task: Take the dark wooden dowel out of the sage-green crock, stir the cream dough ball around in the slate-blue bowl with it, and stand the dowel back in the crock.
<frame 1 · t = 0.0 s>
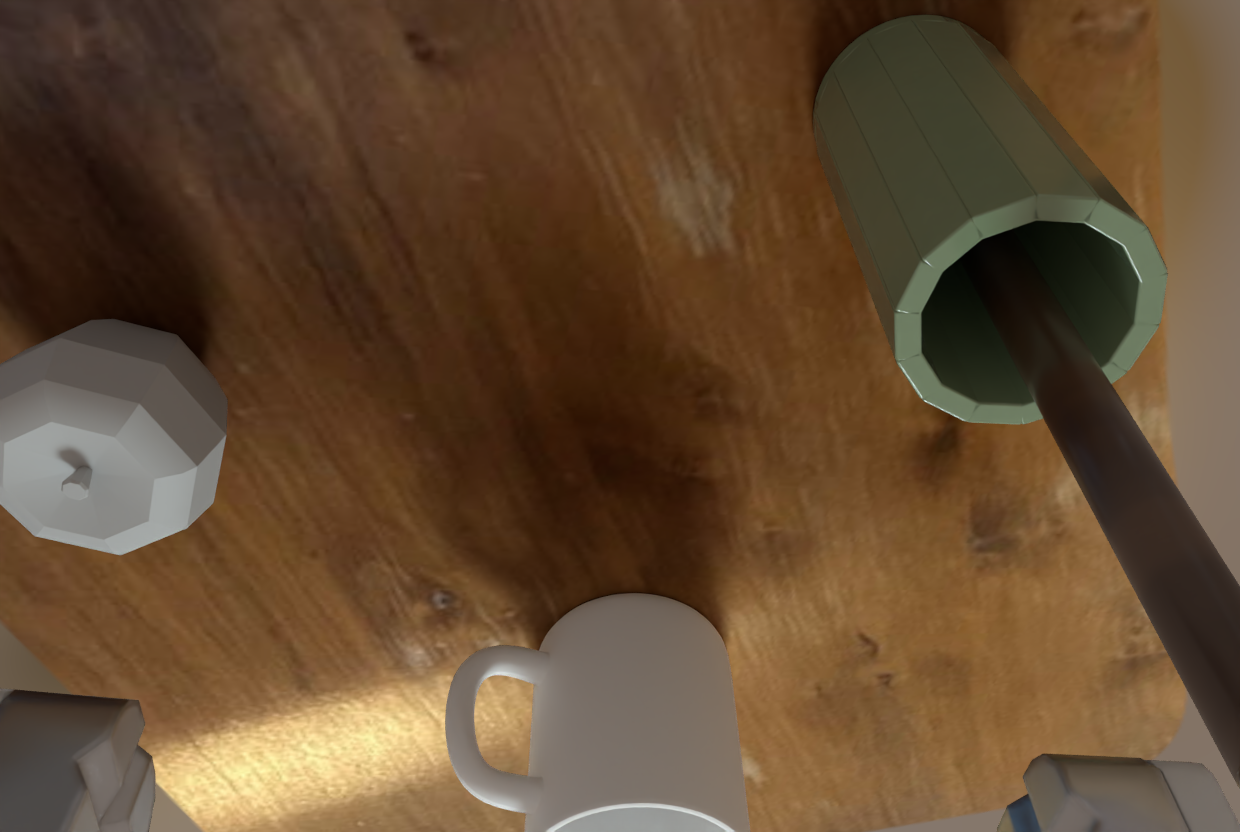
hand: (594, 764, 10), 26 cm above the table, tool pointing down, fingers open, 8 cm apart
crock: (908, 110, 34), on the table
grey faceted low-poly ball: (146, 366, 40), on the table
cup: (593, 639, 48), on the table
dark wooden dowel: (912, 118, 34), point 1 cm above the table, touching crock
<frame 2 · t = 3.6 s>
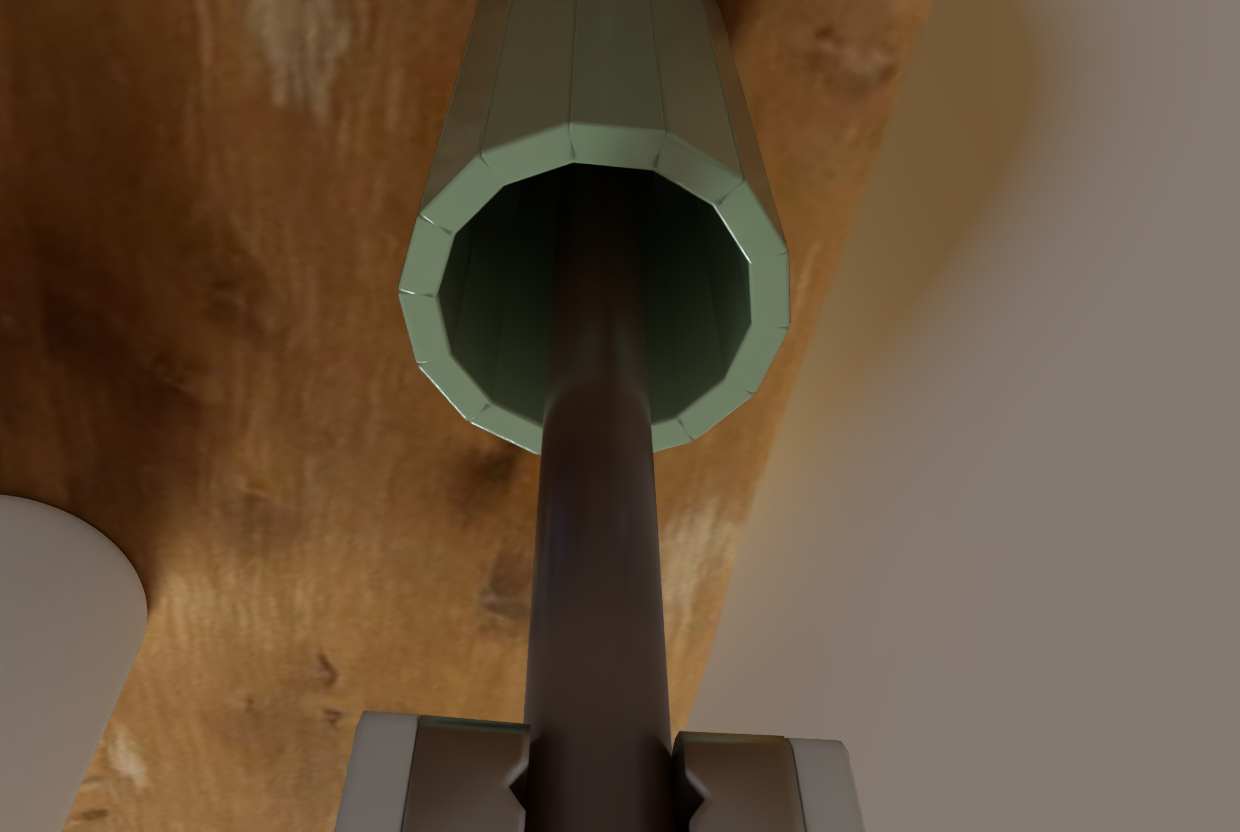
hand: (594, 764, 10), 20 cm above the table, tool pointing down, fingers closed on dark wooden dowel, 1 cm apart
crock: (597, 45, 27), on the table
dark wooden dowel: (597, 54, 26), point 1 cm above the table, touching crock, gripper
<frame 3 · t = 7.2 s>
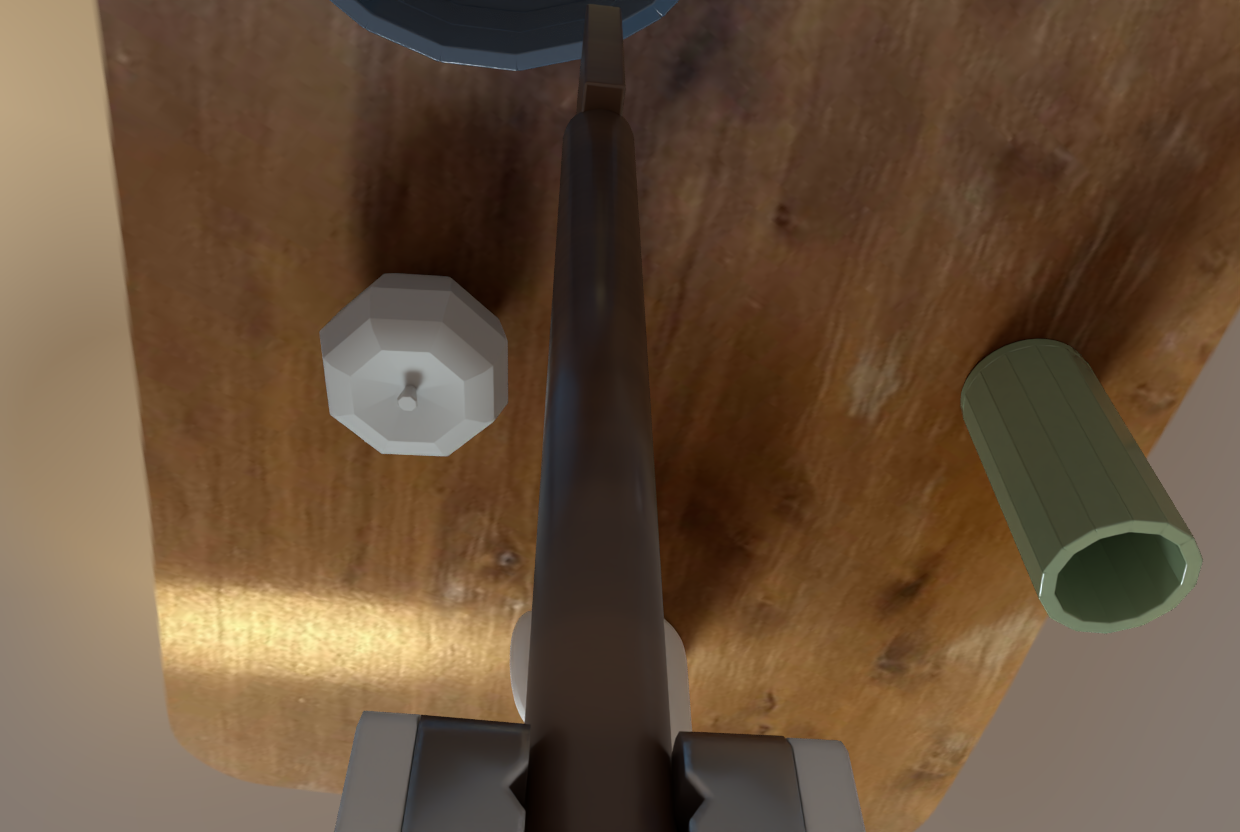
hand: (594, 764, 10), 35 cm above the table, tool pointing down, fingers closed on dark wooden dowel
crock: (1024, 391, 51), on the table
grey faceted low-poly ball: (429, 311, 49), on the table
cup: (590, 628, 61), on the table
dark wooden dowel: (598, 57, 26), point 16 cm above the table, touching gripper
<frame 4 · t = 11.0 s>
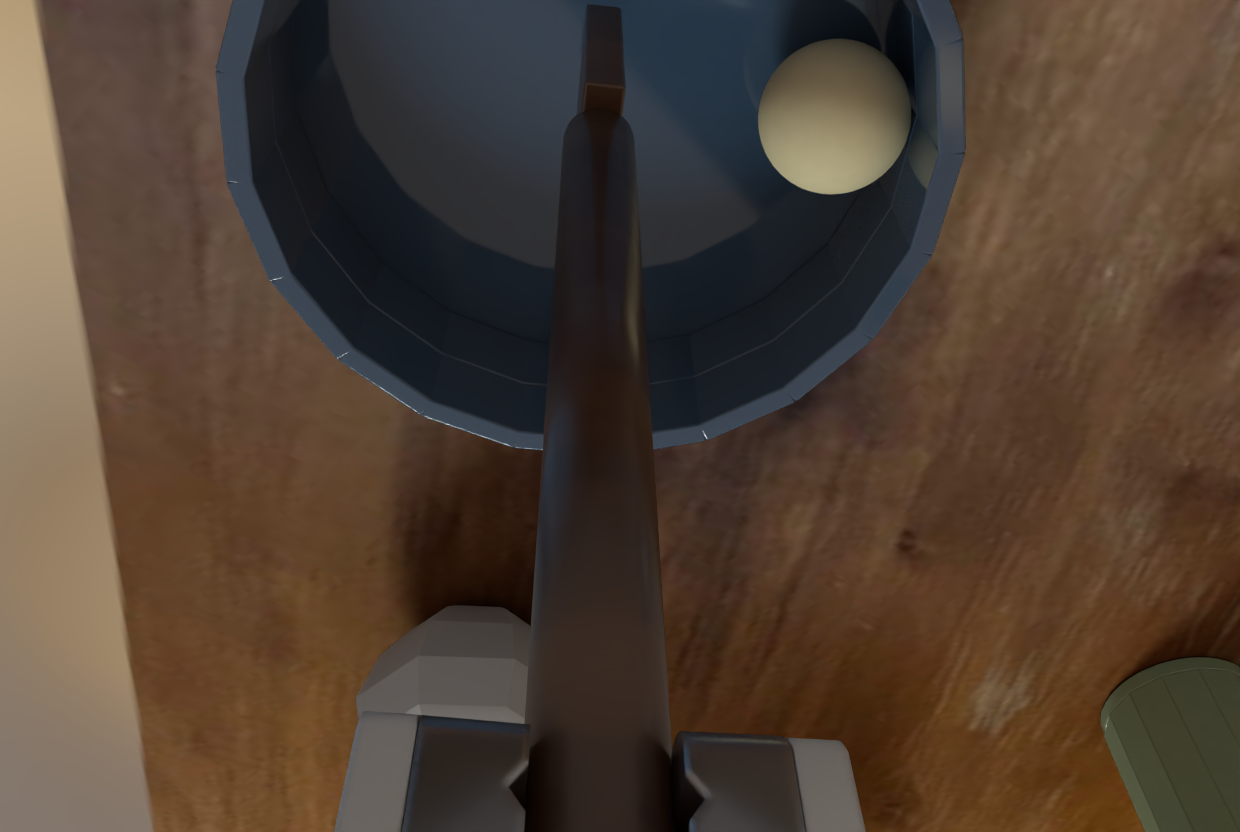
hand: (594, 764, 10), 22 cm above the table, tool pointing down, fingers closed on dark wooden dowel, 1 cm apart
bowl: (595, 86, 29), on the table
dough ball: (833, 117, 27), point 2 cm above the table, tilted 58°, touching bowl
crock: (1176, 706, 44), on the table
grey faceted low-poly ball: (481, 634, 41), on the table
dark wooden dowel: (598, 57, 26), point 2 cm above the table, touching gripper
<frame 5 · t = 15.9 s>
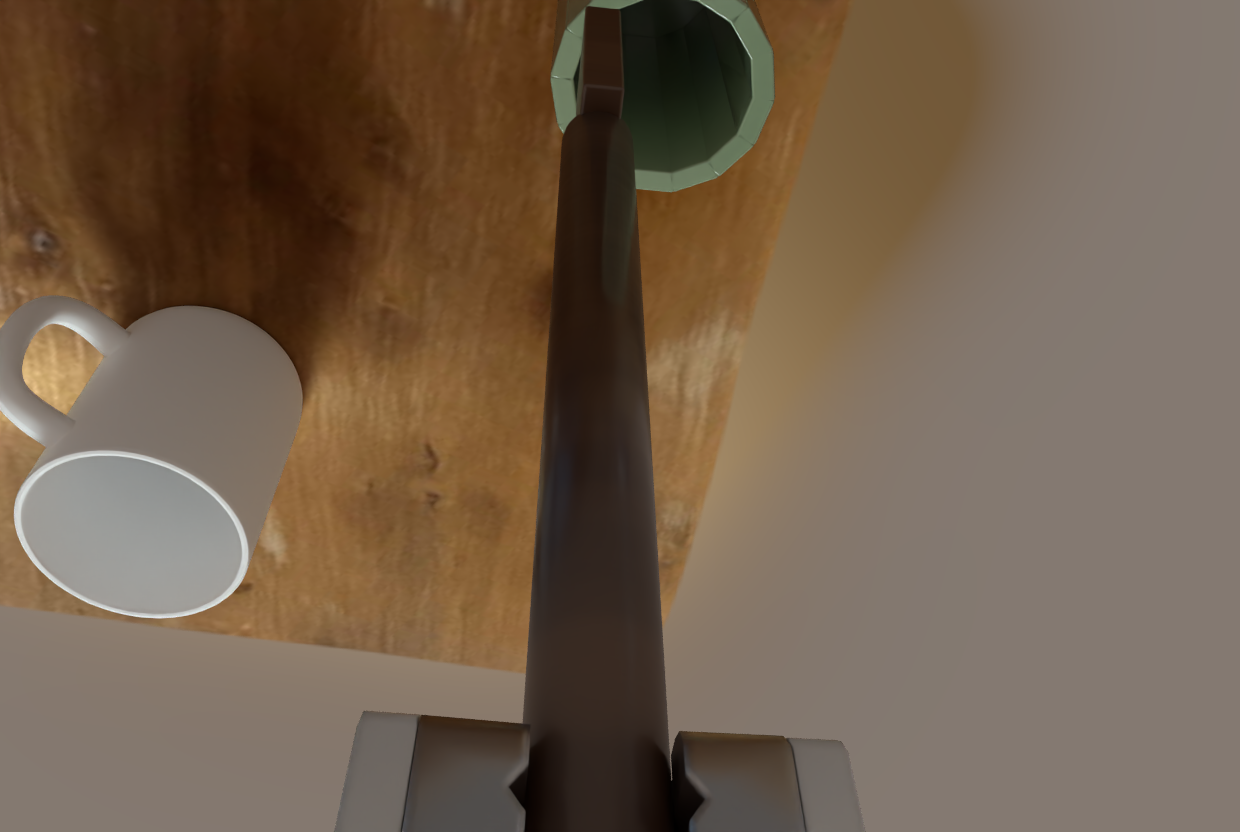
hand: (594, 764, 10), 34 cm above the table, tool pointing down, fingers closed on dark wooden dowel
cup: (179, 349, 49), on the table
dark wooden dowel: (597, 59, 26), point 15 cm above the table, touching gripper
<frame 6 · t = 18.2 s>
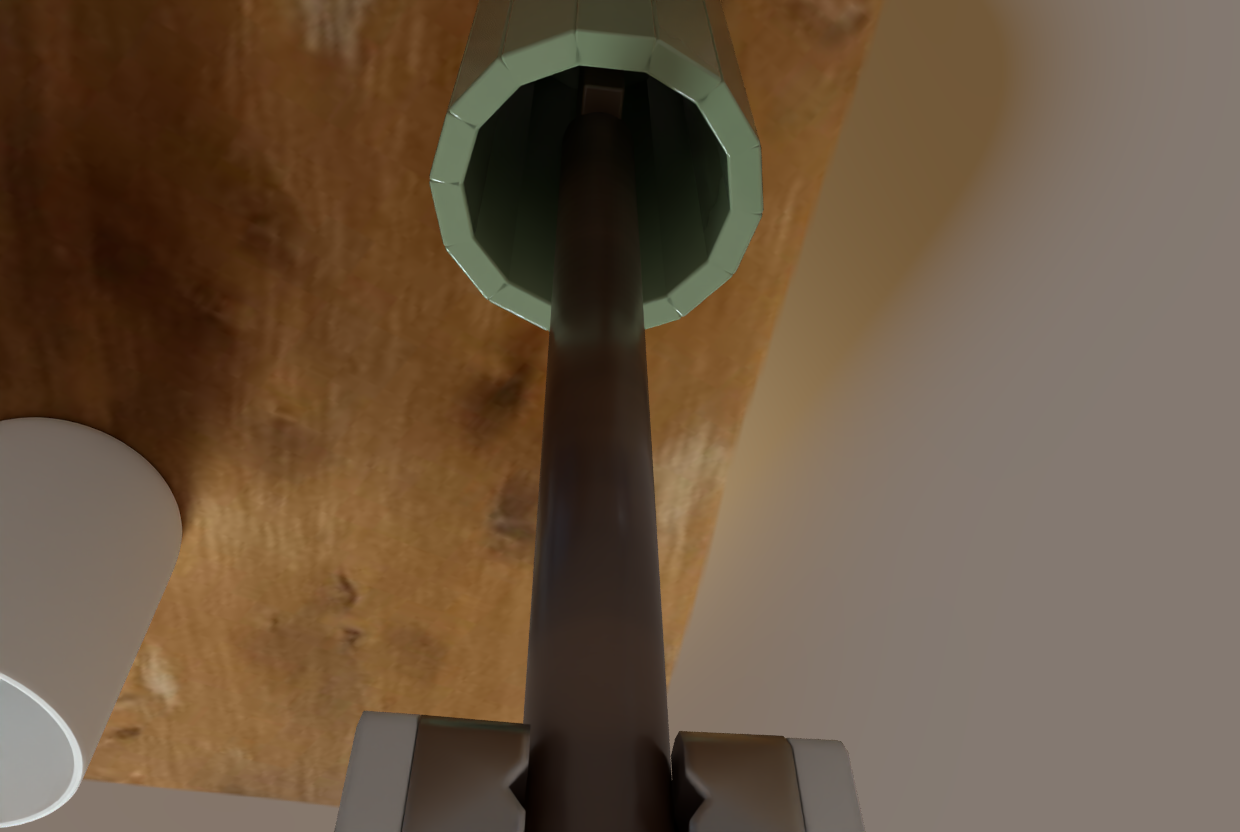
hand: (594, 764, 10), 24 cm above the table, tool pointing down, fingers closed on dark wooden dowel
cup: (25, 467, 39), on the table
dark wooden dowel: (598, 59, 26), point 4 cm above the table, touching gripper
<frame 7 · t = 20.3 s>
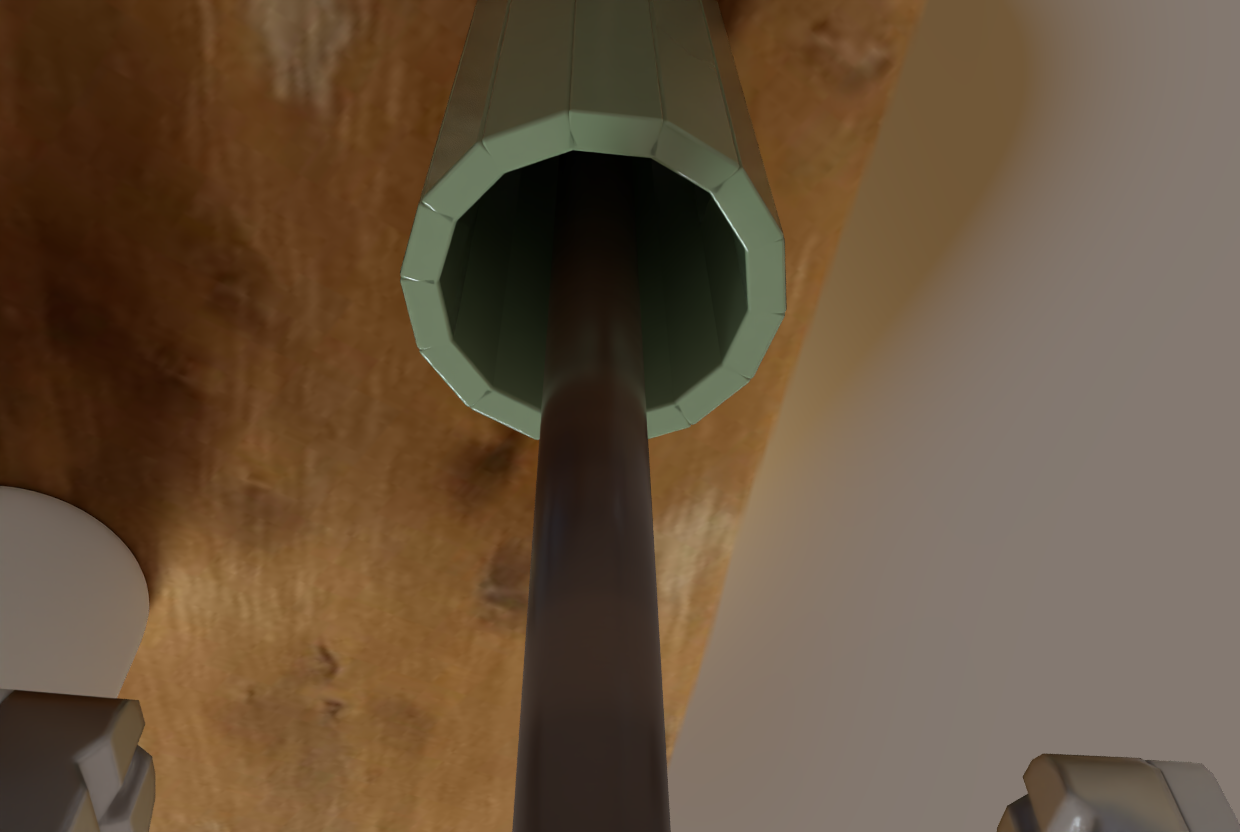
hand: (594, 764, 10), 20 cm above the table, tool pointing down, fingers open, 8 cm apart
crock: (596, 39, 27), on the table
dark wooden dowel: (595, 54, 26), point 1 cm above the table, touching crock
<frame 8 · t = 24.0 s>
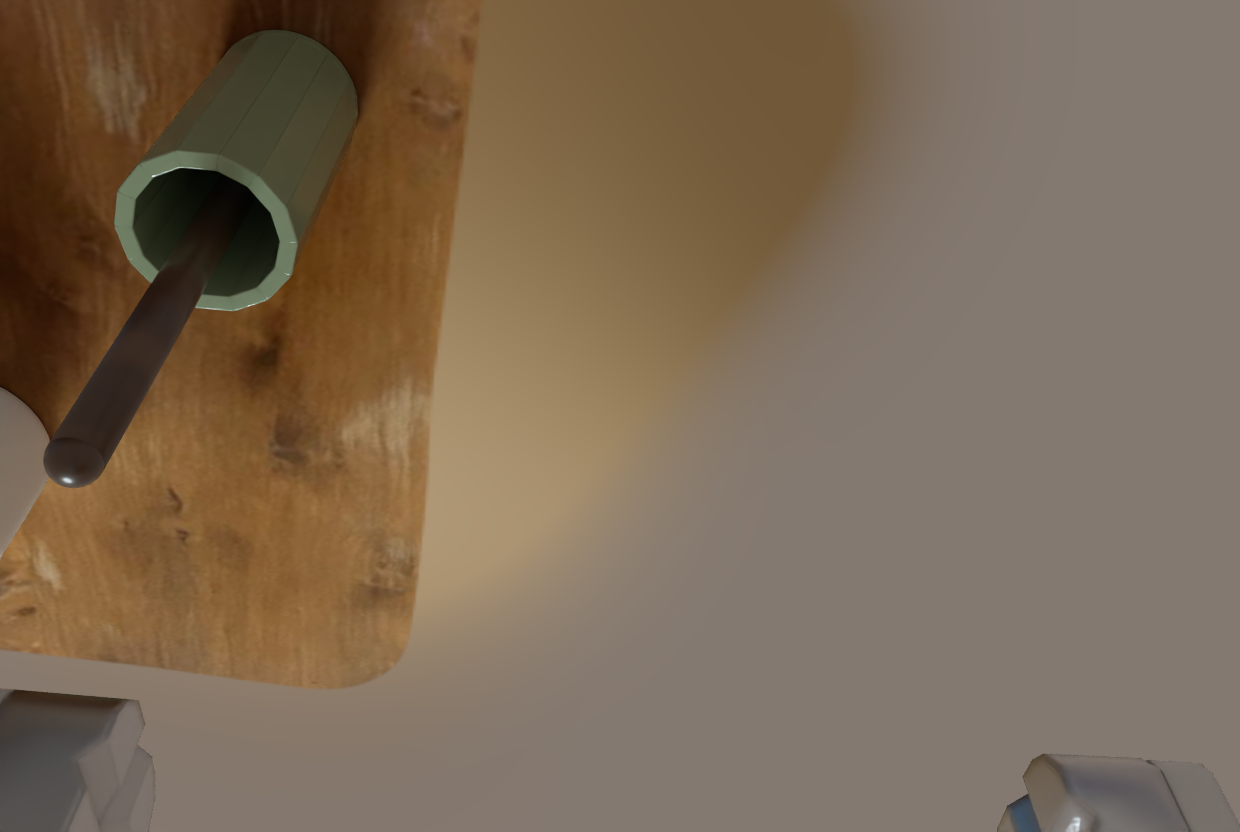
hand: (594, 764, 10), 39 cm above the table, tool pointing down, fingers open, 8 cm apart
crock: (287, 99, 47), on the table
dark wooden dowel: (284, 108, 46), point 1 cm above the table, touching crock
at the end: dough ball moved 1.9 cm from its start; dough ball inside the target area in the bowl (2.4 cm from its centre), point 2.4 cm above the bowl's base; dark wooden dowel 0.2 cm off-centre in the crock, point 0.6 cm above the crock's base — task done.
